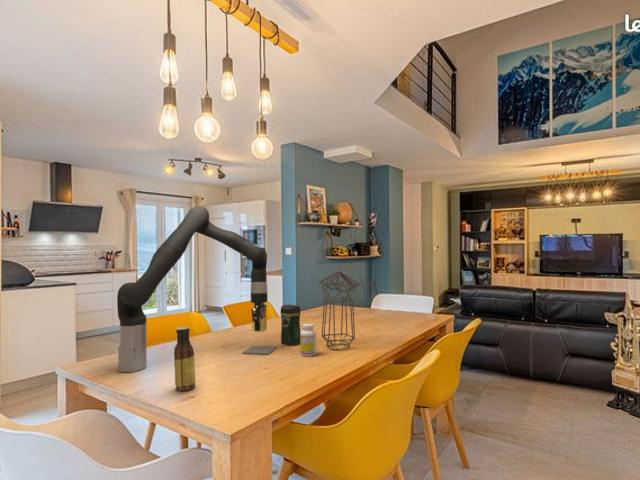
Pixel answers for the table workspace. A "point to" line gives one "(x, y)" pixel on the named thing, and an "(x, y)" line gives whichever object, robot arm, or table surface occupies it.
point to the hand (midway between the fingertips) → (259, 329)
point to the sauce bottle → (184, 361)
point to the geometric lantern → (342, 306)
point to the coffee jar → (290, 325)
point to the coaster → (259, 350)
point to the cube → (262, 325)
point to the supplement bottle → (308, 340)
